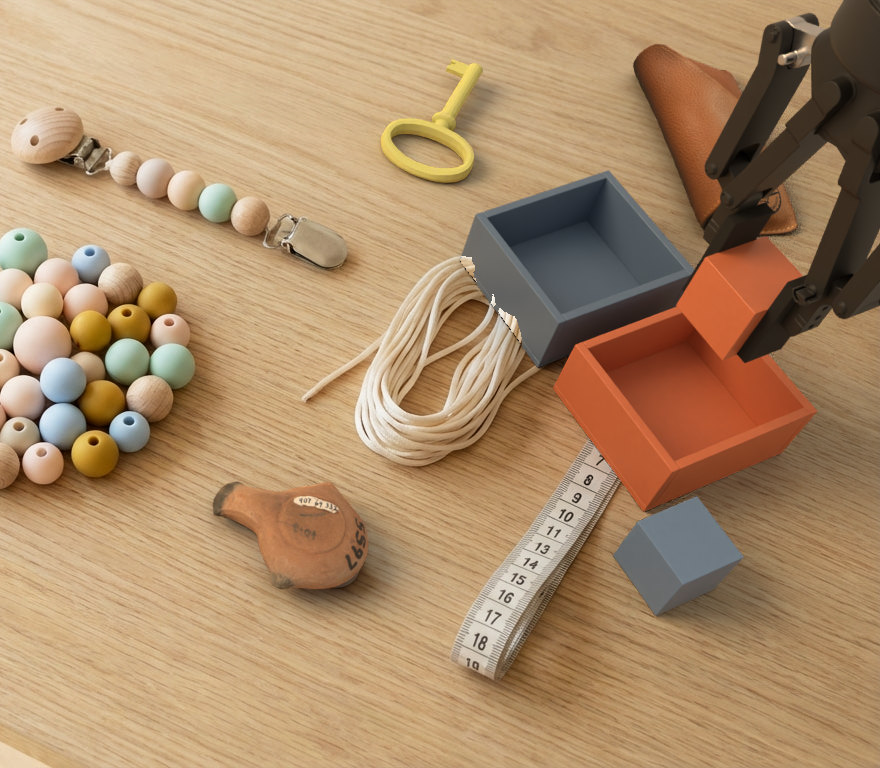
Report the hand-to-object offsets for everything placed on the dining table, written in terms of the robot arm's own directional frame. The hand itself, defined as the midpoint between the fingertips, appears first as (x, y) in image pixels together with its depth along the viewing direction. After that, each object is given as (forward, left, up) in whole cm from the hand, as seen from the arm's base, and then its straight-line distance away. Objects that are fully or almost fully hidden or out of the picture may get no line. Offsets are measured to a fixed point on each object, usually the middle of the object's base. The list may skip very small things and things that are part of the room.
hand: (731, 318), depth 72 cm
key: (0, -29, -11) cm, 31 cm away
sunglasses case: (-19, -19, -11) cm, 29 cm away
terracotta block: (0, 0, 0) cm, 0 cm away
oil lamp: (+27, -2, -11) cm, 29 cm away
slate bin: (0, -12, -11) cm, 16 cm away
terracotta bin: (0, 0, -11) cm, 11 cm away
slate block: (+7, +9, -11) cm, 16 cm away
